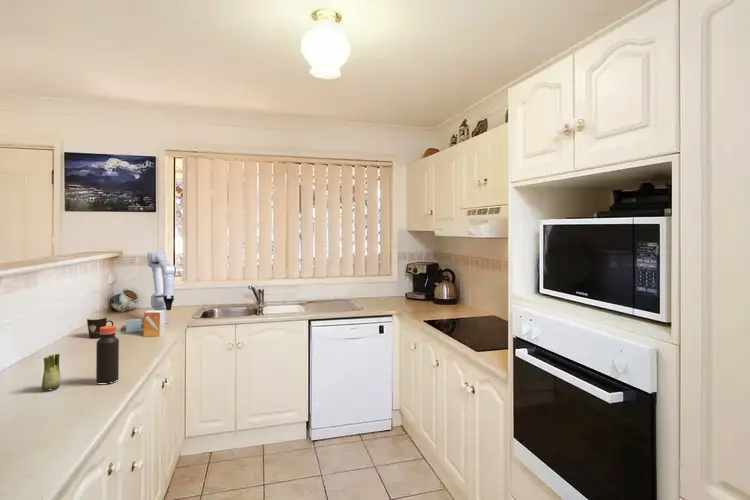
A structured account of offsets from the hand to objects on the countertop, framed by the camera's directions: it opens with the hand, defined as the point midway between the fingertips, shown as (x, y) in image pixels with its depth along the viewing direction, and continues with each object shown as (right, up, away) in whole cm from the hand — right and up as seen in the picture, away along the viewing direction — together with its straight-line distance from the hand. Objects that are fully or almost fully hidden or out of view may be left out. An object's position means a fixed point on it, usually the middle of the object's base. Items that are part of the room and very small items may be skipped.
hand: (168, 309), depth 235 cm
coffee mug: (-22, -11, -27) cm, 37 cm away
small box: (+2, -11, -20) cm, 23 cm away
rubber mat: (-13, -10, -13) cm, 21 cm away
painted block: (-13, -10, -13) cm, 20 cm away
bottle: (+23, -14, -88) cm, 92 cm away
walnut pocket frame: (-17, -10, -5) cm, 20 cm away
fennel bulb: (+9, -14, -97) cm, 98 cm away
